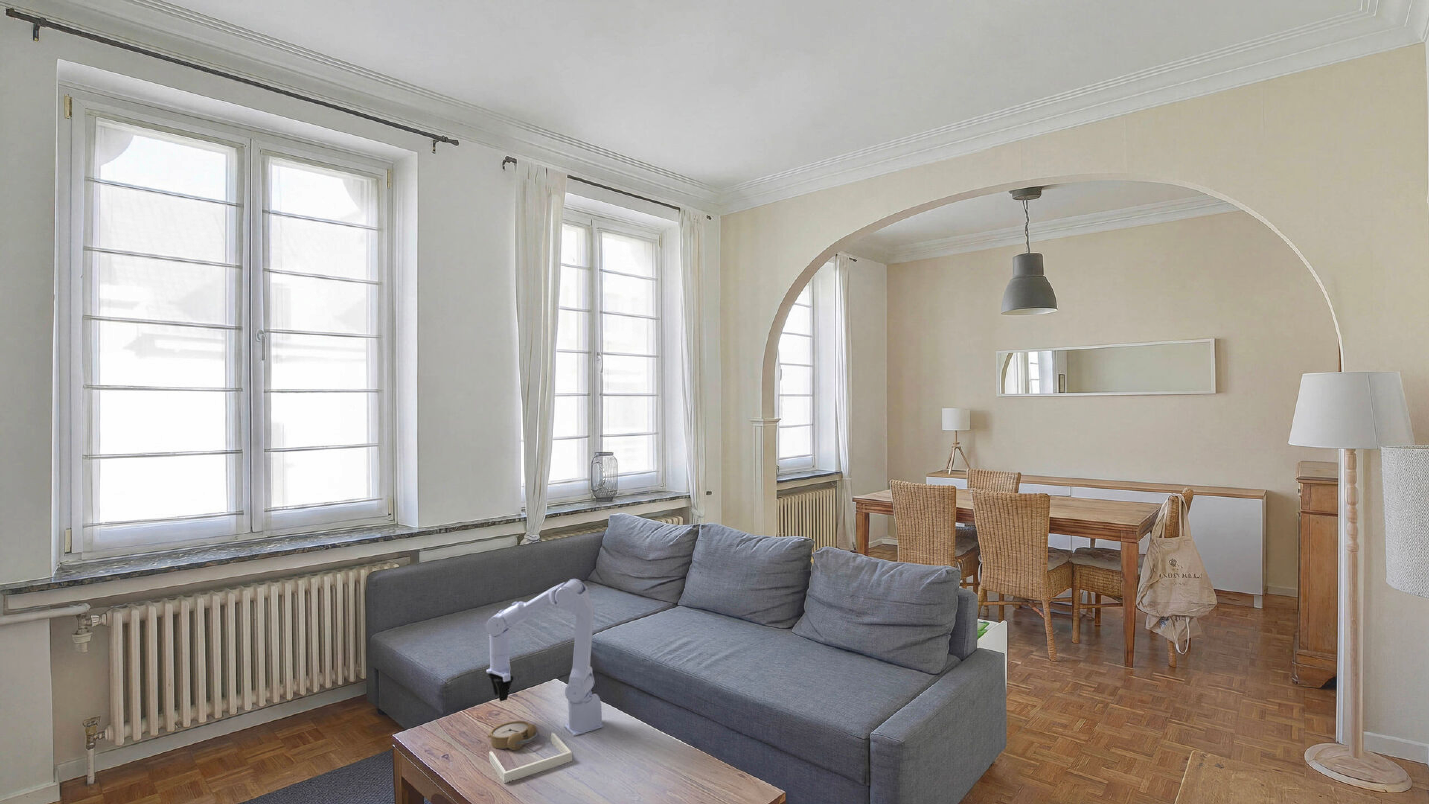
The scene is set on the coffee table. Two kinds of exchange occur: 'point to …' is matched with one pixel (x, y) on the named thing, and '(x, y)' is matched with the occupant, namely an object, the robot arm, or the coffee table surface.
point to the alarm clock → (513, 735)
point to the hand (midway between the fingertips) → (500, 697)
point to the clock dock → (535, 766)
